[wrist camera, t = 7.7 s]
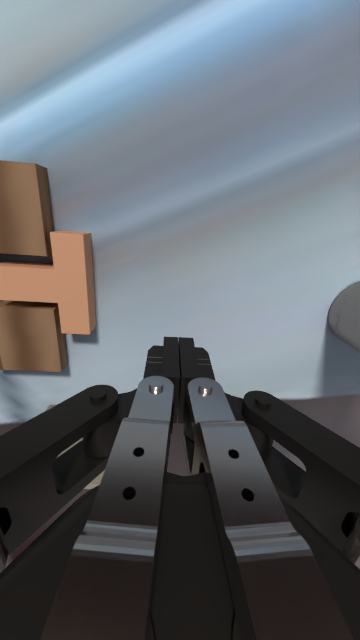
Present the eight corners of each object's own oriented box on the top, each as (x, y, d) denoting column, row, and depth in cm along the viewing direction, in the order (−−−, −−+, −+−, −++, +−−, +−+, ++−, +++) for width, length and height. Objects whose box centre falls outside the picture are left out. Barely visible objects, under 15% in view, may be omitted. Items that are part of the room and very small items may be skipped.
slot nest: (46, 168, 27) (35, 163, 25) (68, 362, 36) (61, 372, 34) (-47, 159, 26) (-67, 154, 24) (-1, 359, 36) (-13, 369, 33)
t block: (90, 232, 30) (83, 234, 27) (96, 325, 34) (90, 334, 32) (-2, 226, 29) (-19, 227, 26) (16, 321, 34) (3, 330, 31)
